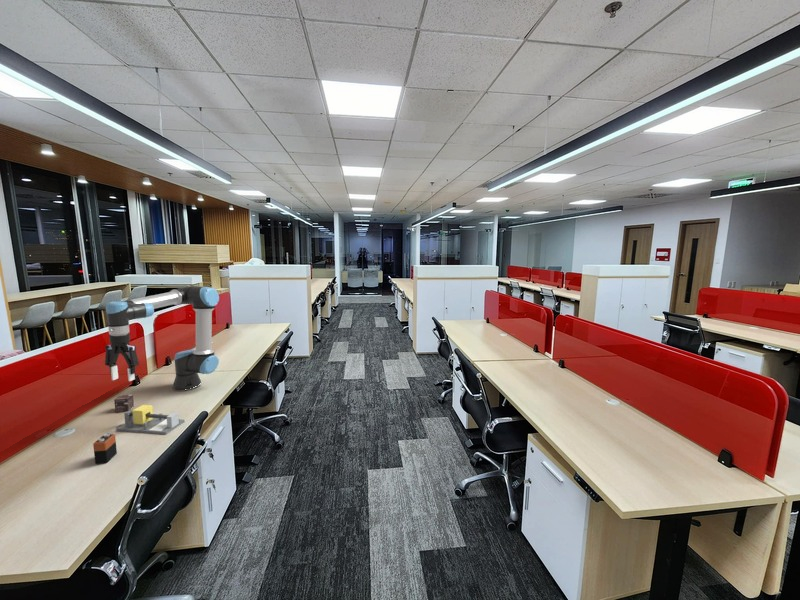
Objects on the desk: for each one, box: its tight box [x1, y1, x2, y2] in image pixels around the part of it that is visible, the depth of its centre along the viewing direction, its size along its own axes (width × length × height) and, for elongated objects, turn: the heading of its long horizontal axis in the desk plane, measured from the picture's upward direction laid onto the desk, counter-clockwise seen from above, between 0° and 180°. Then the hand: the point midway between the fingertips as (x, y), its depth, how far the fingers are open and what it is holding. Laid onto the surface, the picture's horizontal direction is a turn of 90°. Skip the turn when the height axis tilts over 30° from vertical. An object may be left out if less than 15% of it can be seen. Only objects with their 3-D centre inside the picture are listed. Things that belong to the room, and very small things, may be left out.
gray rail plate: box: [116, 409, 185, 436], centre depth 161 cm, size 12×25×7 cm, turn 85°
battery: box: [92, 432, 118, 465], centre depth 135 cm, size 4×7×10 cm, turn 13°
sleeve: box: [132, 404, 154, 424], centre depth 161 cm, size 6×5×7 cm
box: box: [114, 394, 135, 413], centre depth 177 cm, size 6×6×7 cm
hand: (123, 379), depth 159 cm, fingers open, 8 cm apart
